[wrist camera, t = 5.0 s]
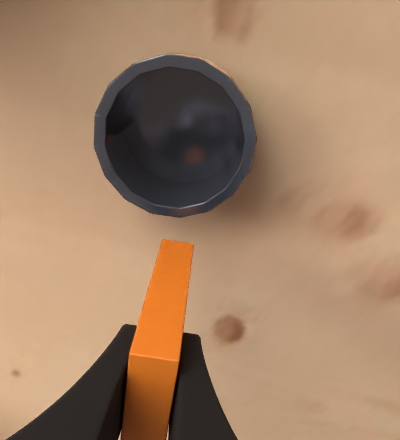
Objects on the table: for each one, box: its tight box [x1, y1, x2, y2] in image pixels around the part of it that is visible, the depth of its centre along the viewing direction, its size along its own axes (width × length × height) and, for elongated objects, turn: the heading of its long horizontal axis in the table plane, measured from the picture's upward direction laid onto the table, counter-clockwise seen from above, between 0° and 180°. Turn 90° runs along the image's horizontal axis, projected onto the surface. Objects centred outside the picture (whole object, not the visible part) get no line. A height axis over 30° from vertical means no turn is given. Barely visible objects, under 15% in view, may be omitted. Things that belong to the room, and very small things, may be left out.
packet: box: [121, 239, 194, 440], centre depth 15 cm, size 1×4×7 cm, turn 171°
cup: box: [94, 53, 257, 218], centre depth 19 cm, size 7×7×4 cm
